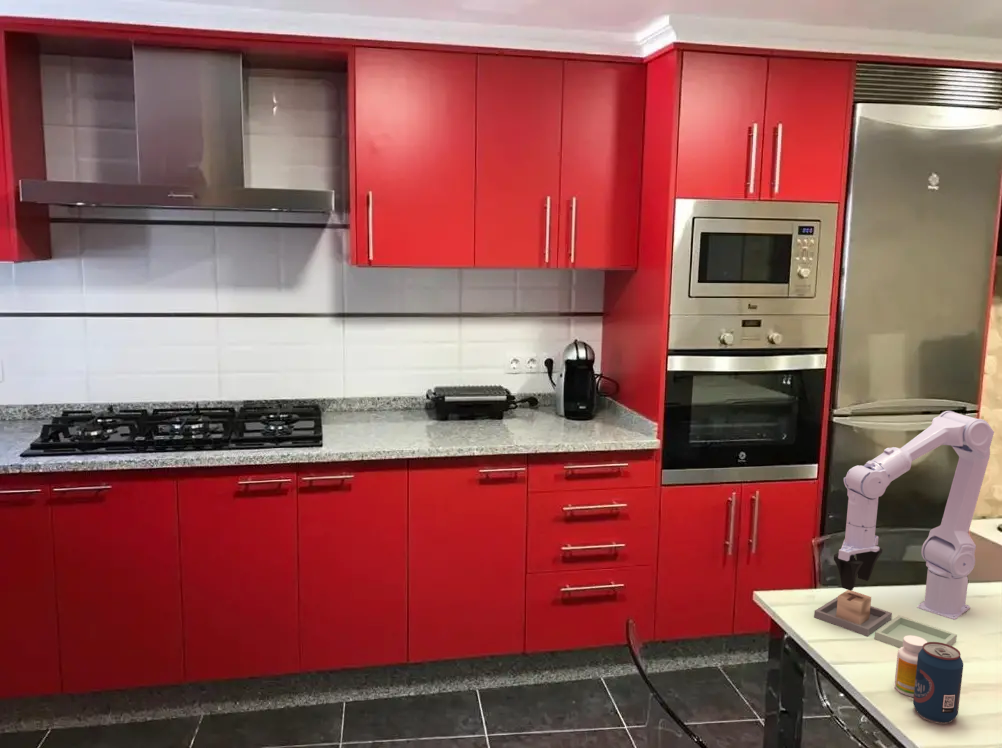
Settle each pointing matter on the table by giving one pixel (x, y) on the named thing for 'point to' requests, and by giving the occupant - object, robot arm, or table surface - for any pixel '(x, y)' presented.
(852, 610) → the letter cube
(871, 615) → the charcoal tray
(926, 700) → the soda can
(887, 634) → the sage tray
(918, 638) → the supplement bottle
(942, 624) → the table surface
